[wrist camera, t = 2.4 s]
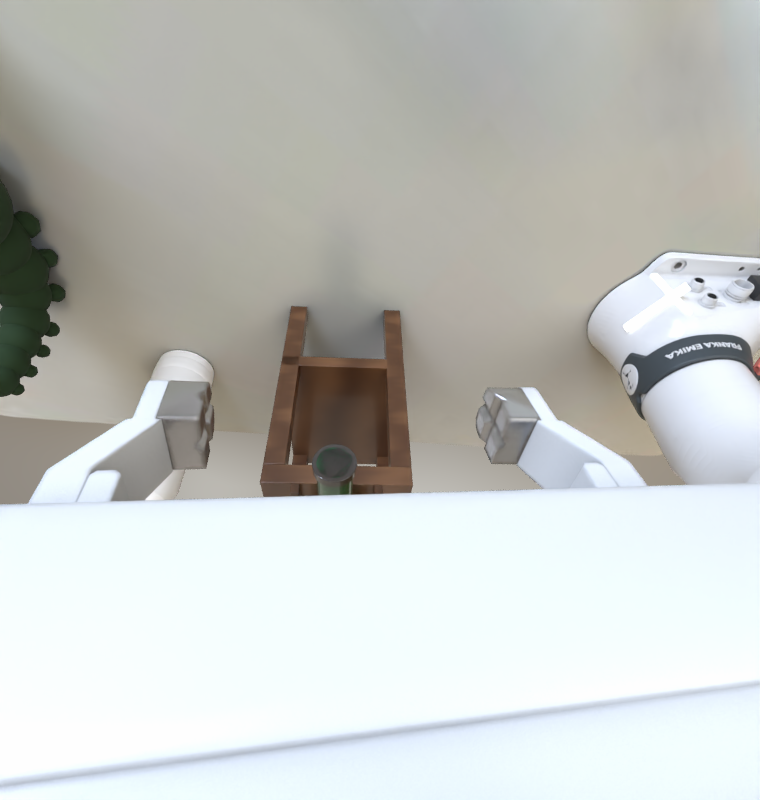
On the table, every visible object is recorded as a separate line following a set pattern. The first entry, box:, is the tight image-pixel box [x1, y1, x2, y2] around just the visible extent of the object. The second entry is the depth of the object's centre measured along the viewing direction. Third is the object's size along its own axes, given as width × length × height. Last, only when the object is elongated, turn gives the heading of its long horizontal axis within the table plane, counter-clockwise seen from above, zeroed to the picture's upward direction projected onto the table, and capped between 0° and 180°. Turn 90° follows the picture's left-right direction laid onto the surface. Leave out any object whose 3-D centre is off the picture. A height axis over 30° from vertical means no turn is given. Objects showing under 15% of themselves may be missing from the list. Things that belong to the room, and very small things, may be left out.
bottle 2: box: [312, 444, 357, 496], centre depth 43 cm, size 6×26×6 cm, turn 176°
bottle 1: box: [145, 350, 214, 500], centre depth 56 cm, size 8×8×30 cm
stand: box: [260, 306, 413, 497], centre depth 57 cm, size 14×20×27 cm
